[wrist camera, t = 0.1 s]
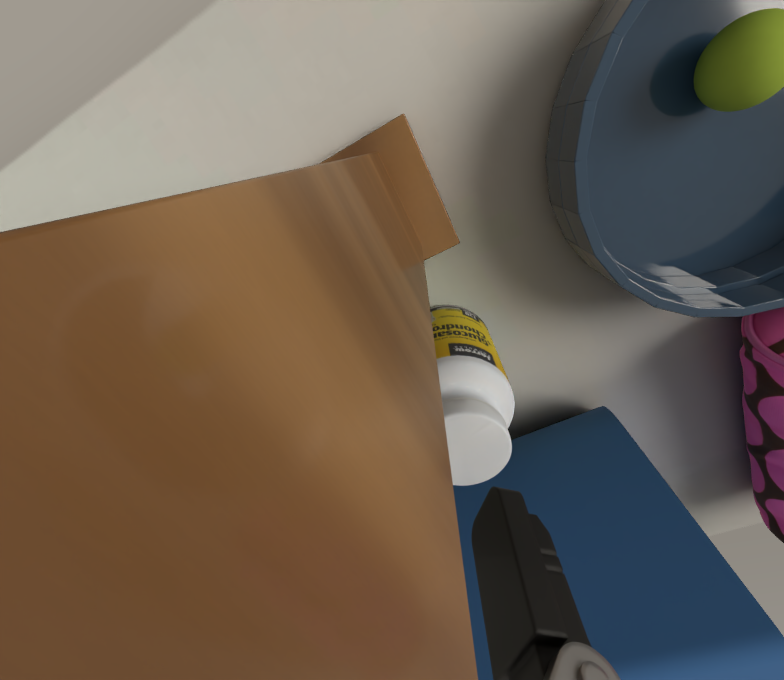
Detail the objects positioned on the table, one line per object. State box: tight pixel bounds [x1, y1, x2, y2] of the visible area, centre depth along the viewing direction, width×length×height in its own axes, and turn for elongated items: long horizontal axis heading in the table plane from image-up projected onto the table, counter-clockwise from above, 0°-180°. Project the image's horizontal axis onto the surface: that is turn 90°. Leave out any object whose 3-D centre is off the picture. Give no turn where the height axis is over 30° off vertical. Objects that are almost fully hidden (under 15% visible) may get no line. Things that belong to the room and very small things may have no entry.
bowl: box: [546, 0, 784, 317], centre depth 20 cm, size 19×19×5 cm
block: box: [453, 406, 784, 680], centre depth 27 cm, size 18×18×18 cm
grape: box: [694, 8, 784, 112], centre depth 18 cm, size 4×4×4 cm
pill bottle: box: [430, 305, 515, 486], centre depth 24 cm, size 6×6×12 cm
